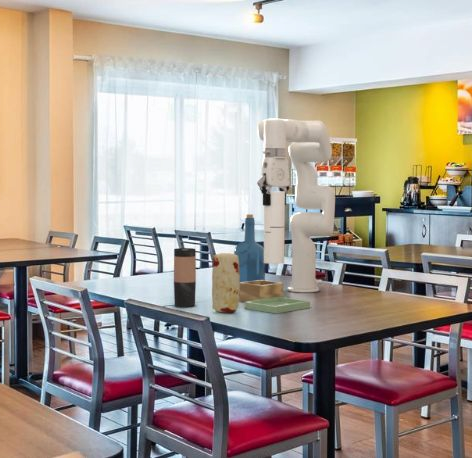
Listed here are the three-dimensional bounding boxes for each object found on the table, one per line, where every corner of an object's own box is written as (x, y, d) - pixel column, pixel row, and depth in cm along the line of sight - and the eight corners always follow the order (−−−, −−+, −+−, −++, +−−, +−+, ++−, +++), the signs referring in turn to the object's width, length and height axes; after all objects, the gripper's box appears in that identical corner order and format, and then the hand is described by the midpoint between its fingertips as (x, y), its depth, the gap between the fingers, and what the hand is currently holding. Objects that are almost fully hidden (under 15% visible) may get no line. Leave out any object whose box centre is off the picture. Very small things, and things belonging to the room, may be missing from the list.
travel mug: (199, 304, 277) (199, 248, 275) (190, 308, 269) (190, 250, 268) (179, 303, 279) (179, 247, 278) (170, 306, 272) (170, 249, 271)
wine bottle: (246, 282, 338) (246, 213, 336) (271, 285, 330) (271, 214, 328) (226, 285, 327) (226, 214, 325) (251, 288, 319) (252, 215, 317)
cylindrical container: (281, 264, 269) (282, 191, 268) (261, 263, 271) (262, 191, 269) (285, 261, 276) (286, 191, 275) (266, 261, 278) (266, 190, 276)
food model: (208, 312, 260) (208, 253, 259) (216, 309, 266) (217, 251, 265) (235, 314, 257) (236, 254, 255) (243, 311, 263) (243, 252, 262)
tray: (279, 302, 282) (279, 296, 282) (310, 307, 272) (310, 301, 272) (244, 308, 270) (244, 301, 270) (275, 313, 260) (275, 306, 260)
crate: (260, 298, 293) (260, 279, 293) (283, 301, 285) (283, 282, 285) (238, 301, 285) (238, 282, 284) (261, 305, 277) (261, 285, 276)
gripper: (265, 153, 262) (264, 206, 263) (299, 154, 275) (299, 205, 276) (249, 153, 267) (249, 205, 269) (283, 155, 280) (283, 204, 281)
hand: (274, 205), depth 272 cm, fingers closed on cylindrical container, 7 cm apart
